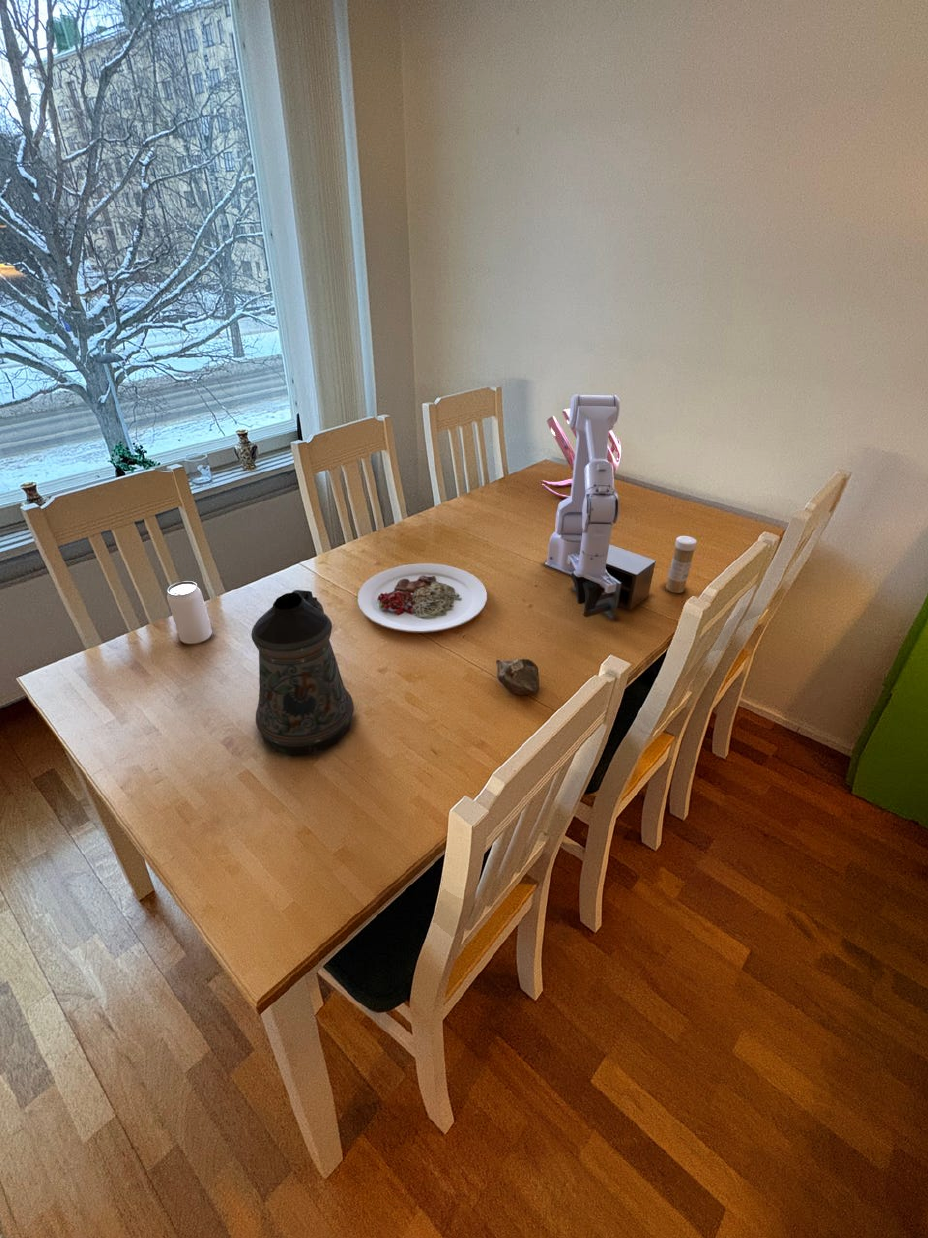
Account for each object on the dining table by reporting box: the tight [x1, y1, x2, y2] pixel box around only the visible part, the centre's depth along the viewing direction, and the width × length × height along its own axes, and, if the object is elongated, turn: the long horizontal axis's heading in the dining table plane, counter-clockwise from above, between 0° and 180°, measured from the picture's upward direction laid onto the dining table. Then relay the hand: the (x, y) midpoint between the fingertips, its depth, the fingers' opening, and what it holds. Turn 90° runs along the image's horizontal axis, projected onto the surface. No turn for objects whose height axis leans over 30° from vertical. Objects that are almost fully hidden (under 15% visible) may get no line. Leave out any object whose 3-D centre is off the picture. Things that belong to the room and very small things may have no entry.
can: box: [166, 580, 213, 645], centre depth 123 cm, size 6×6×12 cm
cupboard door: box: [572, 576, 621, 620], centre depth 135 cm, size 8×15×9 cm, turn 28°
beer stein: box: [251, 589, 355, 757], centre depth 99 cm, size 16×19×25 cm
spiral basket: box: [540, 408, 622, 500], centre depth 189 cm, size 28×28×27 cm
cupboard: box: [605, 544, 657, 611], centre depth 141 cm, size 9×15×10 cm, turn 48°
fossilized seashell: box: [495, 657, 540, 695], centre depth 113 cm, size 8×7×10 cm
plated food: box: [357, 562, 488, 633], centre depth 138 cm, size 30×30×3 cm
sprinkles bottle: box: [665, 535, 698, 594], centre depth 141 cm, size 5×5×14 cm
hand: (586, 605), depth 131 cm, fingers closed
